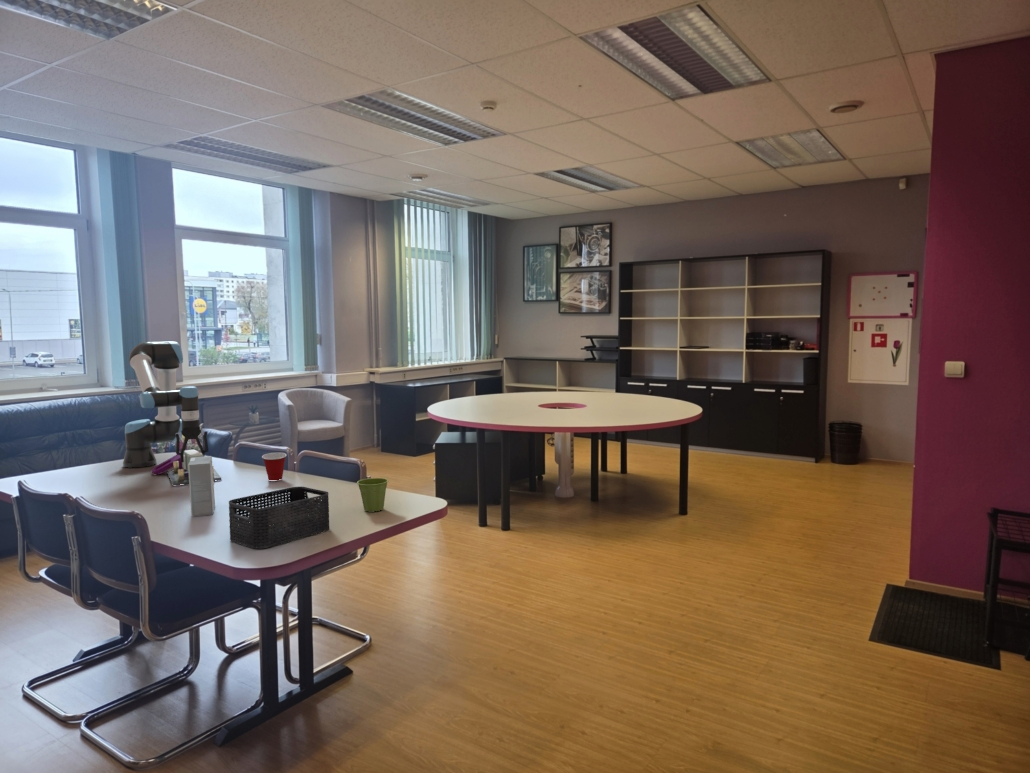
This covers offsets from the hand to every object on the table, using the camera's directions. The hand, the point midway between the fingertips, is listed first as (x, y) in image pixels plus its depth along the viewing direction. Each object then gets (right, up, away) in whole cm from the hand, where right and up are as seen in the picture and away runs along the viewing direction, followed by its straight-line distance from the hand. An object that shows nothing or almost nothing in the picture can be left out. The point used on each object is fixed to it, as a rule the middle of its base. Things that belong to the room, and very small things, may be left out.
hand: (193, 467), depth 315 cm
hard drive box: (+33, -10, -59) cm, 68 cm away
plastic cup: (+42, -5, -8) cm, 43 cm away
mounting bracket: (-17, -4, +14) cm, 22 cm away
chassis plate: (0, -5, 0) cm, 5 cm away
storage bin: (+73, -12, -90) cm, 117 cm away
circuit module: (0, 0, 0) cm, 0 cm away
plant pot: (+98, -9, -61) cm, 116 cm away
